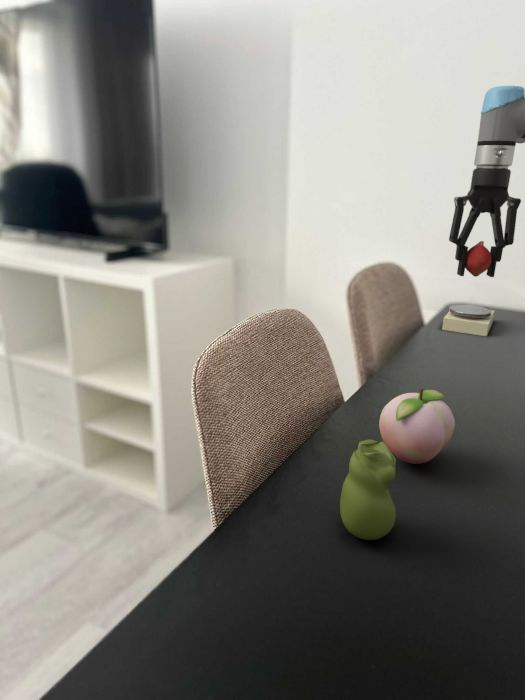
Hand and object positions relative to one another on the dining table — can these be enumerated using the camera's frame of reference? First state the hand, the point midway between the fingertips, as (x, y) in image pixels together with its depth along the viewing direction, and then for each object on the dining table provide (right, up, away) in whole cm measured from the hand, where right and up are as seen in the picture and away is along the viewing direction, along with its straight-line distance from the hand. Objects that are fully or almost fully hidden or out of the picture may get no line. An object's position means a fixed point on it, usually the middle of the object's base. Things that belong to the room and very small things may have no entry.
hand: (475, 275), depth 117 cm
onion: (0, 0, 0) cm, 0 cm away
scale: (+1, -11, +6) cm, 13 cm away
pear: (-38, -35, -66) cm, 84 cm away
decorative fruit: (-30, -31, -53) cm, 69 cm away
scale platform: (0, -8, +3) cm, 9 cm away
